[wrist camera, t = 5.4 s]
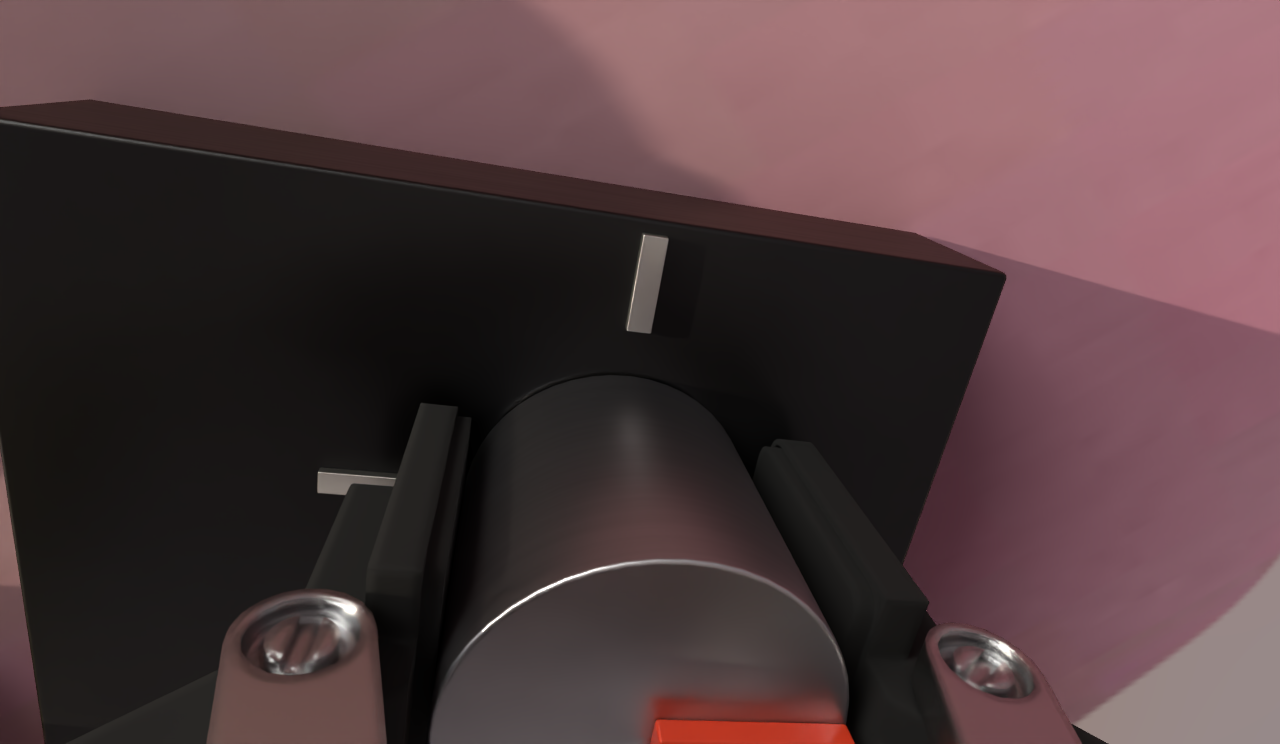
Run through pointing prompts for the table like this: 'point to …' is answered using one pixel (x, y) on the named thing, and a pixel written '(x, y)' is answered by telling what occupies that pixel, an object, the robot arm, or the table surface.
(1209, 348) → the table surface
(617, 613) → the hob knob
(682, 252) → the panel
